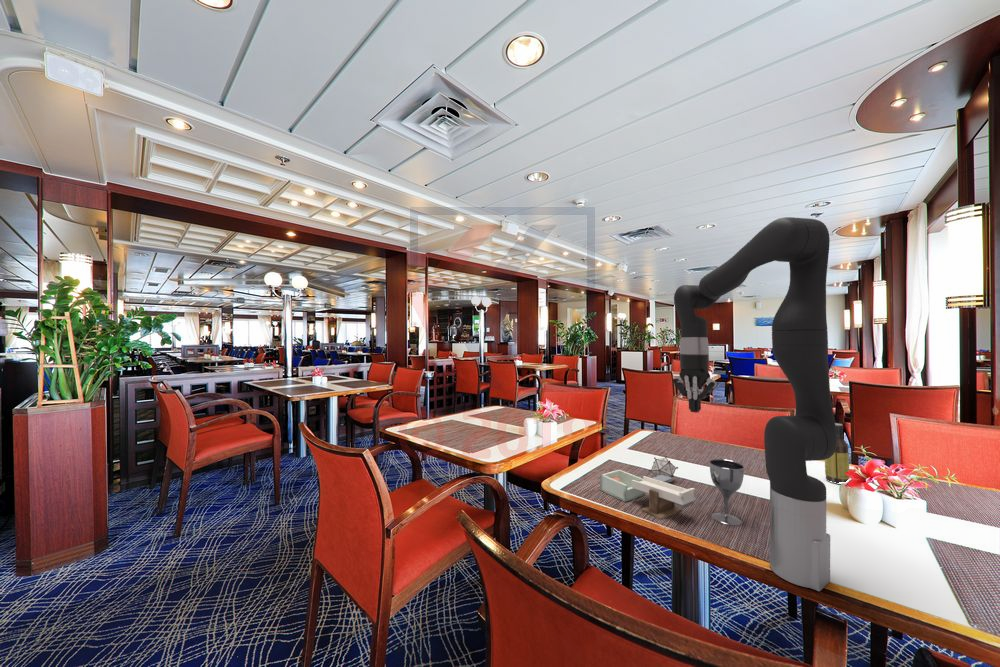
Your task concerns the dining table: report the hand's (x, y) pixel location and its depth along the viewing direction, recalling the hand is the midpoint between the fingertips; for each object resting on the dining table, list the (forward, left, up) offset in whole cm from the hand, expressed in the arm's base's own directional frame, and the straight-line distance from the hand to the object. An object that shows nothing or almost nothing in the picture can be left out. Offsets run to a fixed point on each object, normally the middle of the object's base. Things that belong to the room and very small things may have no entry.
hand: (694, 411), depth 108 cm
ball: (+20, +11, -25) cm, 34 cm away
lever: (+3, +6, -24) cm, 25 cm away
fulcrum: (+3, +11, -28) cm, 30 cm away
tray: (+17, +11, -28) cm, 34 cm away
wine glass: (-9, 0, -28) cm, 29 cm away
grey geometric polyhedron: (+16, -9, -28) cm, 34 cm away
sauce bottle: (-16, -59, -28) cm, 67 cm away
